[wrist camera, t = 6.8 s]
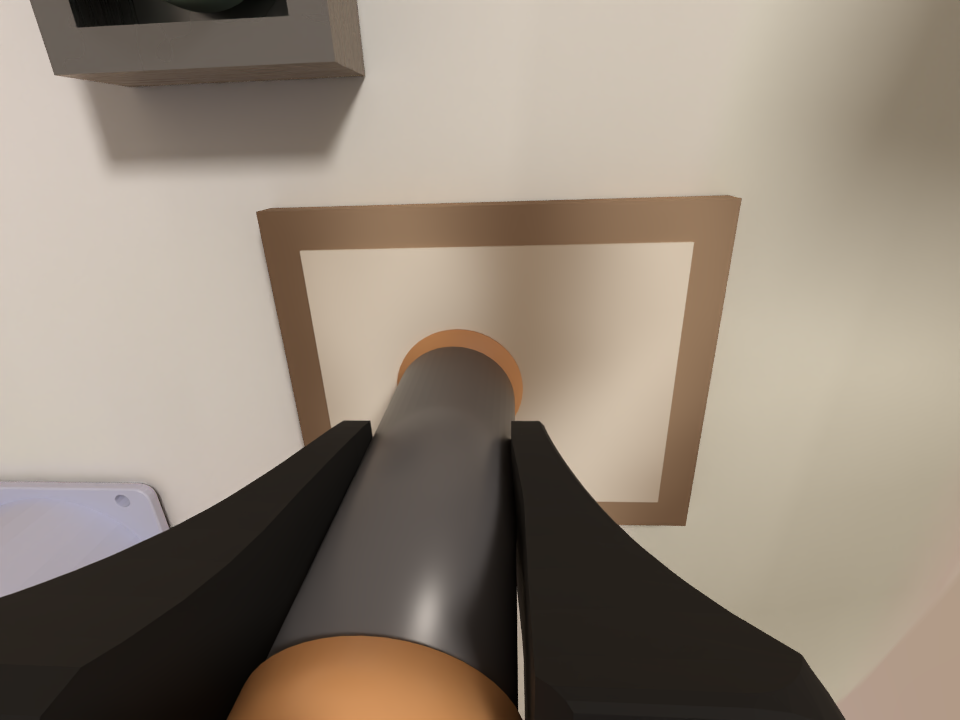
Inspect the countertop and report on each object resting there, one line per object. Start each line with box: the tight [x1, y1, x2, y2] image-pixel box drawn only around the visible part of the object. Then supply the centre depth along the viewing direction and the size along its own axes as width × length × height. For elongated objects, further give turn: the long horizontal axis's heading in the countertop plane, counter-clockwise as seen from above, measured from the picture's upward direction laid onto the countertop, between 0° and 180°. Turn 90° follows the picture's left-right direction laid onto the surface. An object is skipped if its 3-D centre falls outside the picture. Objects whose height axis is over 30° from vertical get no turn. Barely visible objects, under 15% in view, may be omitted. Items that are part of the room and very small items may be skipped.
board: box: [256, 195, 742, 526], centre depth 14 cm, size 12×10×1 cm
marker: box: [227, 346, 522, 720], centre depth 9 cm, size 3×3×10 cm
